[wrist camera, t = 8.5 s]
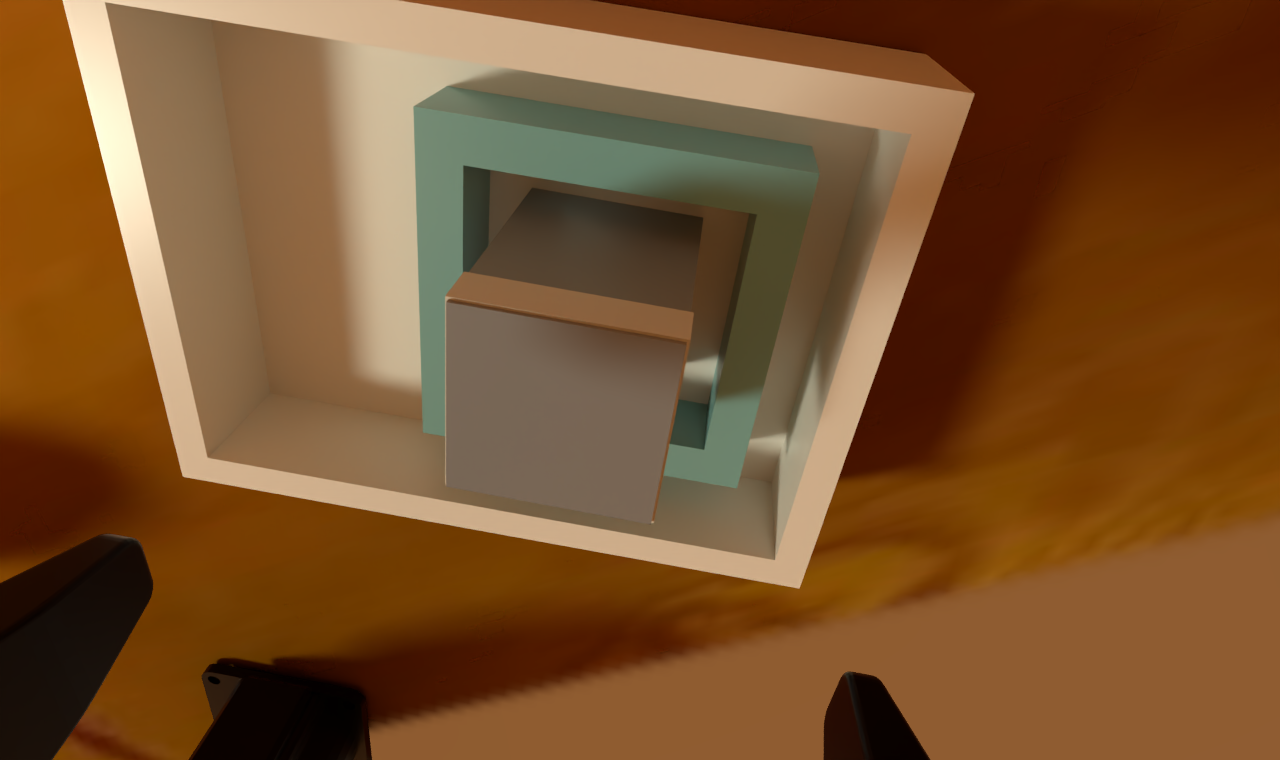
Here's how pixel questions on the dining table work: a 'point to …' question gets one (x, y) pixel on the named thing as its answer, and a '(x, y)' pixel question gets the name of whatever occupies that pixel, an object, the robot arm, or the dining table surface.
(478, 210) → the walled box
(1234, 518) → the dining table surface
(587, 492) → the square block
